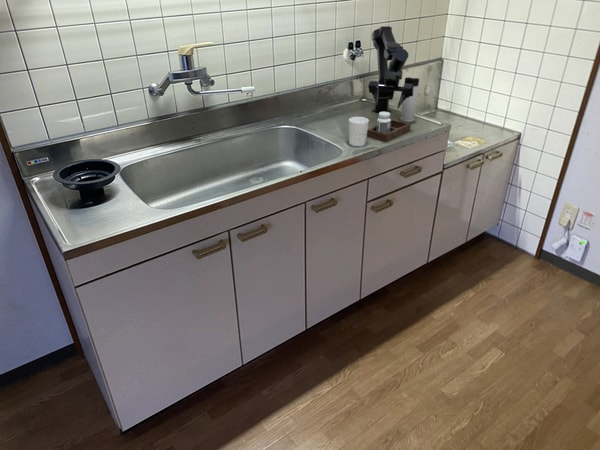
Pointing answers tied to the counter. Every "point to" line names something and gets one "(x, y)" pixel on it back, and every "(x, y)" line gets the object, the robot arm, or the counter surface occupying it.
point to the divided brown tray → (393, 132)
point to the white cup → (358, 131)
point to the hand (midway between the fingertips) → (387, 106)
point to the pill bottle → (383, 122)
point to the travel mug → (410, 102)
